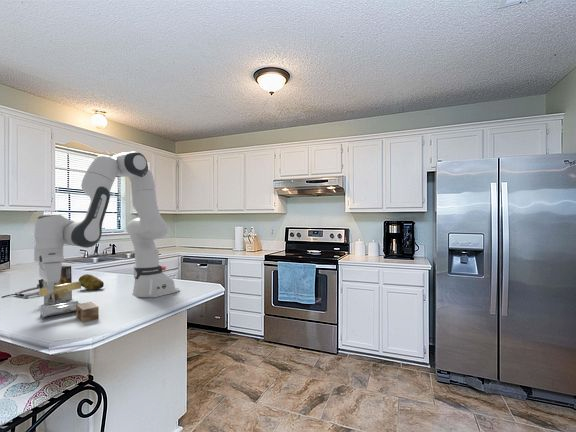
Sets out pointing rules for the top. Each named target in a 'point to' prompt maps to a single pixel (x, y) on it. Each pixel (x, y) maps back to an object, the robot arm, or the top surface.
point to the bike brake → (39, 285)
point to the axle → (61, 288)
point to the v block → (58, 310)
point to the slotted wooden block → (87, 311)
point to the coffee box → (65, 278)
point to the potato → (91, 282)
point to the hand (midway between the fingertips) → (49, 291)
